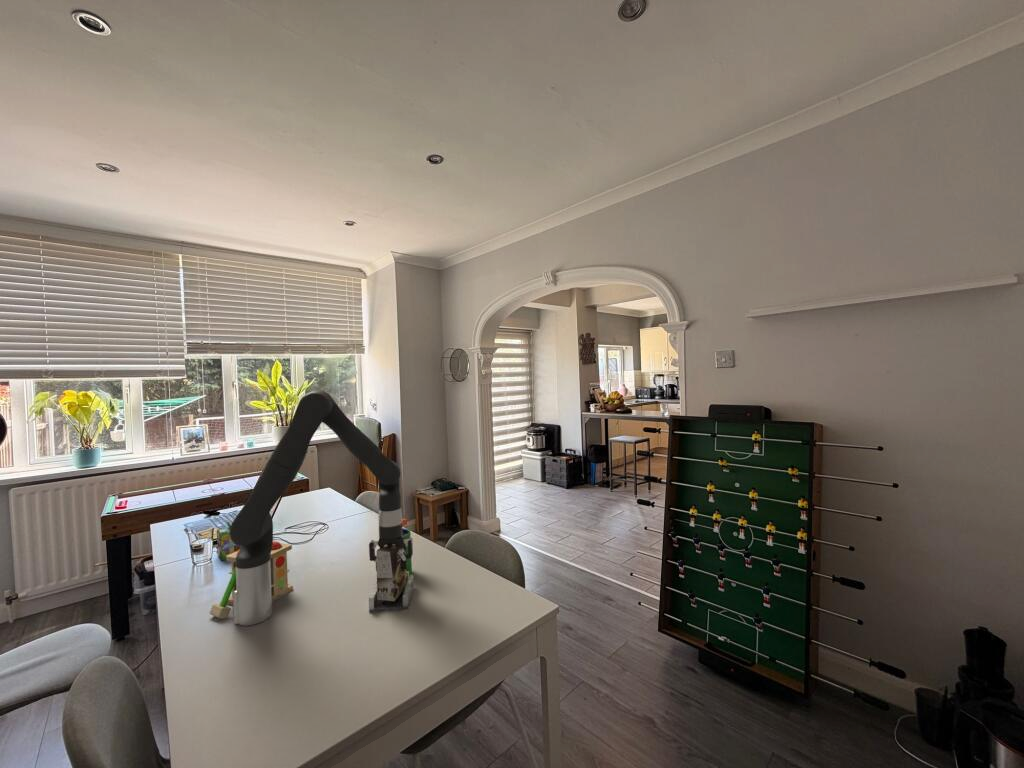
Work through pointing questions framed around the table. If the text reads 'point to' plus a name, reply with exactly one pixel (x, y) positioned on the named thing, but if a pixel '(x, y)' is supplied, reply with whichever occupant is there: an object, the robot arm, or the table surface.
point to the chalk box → (225, 543)
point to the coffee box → (390, 573)
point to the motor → (406, 536)
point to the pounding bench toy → (277, 579)
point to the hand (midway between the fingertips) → (391, 571)
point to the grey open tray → (398, 604)
